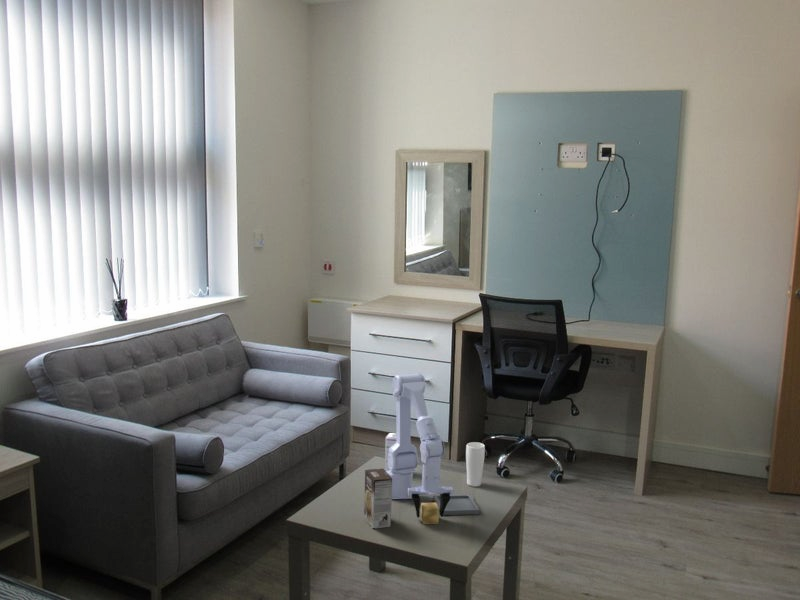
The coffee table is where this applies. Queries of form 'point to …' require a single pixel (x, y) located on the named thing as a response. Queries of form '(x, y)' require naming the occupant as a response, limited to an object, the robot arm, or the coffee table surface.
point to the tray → (459, 505)
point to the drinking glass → (474, 463)
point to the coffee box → (378, 498)
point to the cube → (429, 513)
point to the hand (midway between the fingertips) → (429, 515)
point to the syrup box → (389, 443)
